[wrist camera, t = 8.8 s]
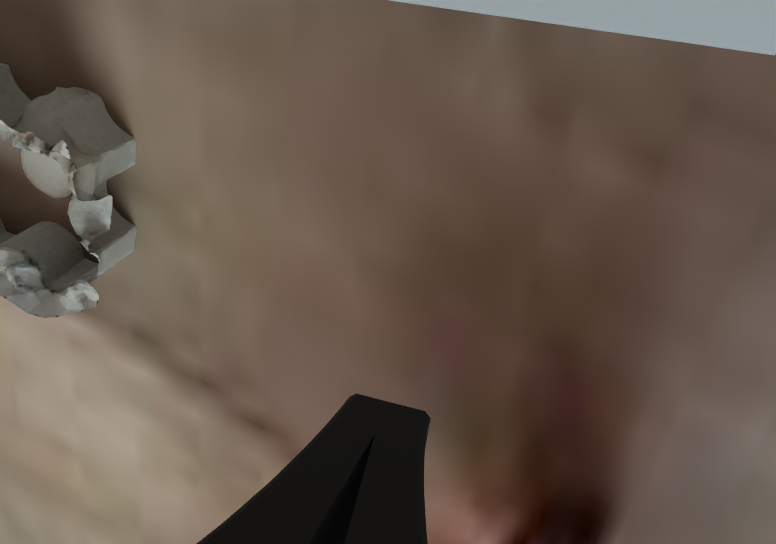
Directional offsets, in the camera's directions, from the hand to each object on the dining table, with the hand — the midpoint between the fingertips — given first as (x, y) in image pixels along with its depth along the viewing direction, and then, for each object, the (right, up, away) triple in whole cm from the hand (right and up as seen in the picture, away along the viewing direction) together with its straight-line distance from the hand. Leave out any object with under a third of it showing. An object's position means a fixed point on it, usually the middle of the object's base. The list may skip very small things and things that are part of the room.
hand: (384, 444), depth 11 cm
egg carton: (-13, +7, +12) cm, 19 cm away
